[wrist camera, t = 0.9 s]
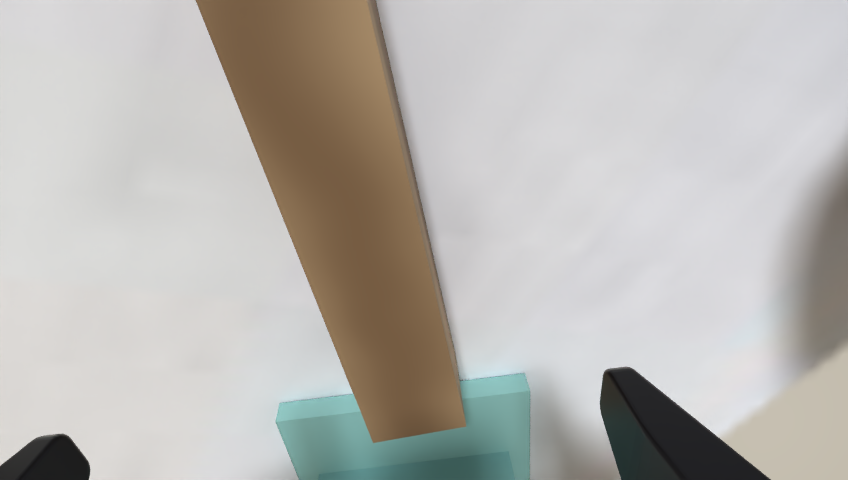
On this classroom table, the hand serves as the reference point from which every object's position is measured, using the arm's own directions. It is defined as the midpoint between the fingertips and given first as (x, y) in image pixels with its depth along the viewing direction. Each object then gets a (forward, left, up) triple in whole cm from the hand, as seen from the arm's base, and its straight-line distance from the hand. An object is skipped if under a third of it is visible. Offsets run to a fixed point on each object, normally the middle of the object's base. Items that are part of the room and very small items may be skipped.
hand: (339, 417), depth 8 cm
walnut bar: (0, 0, -10) cm, 10 cm away
